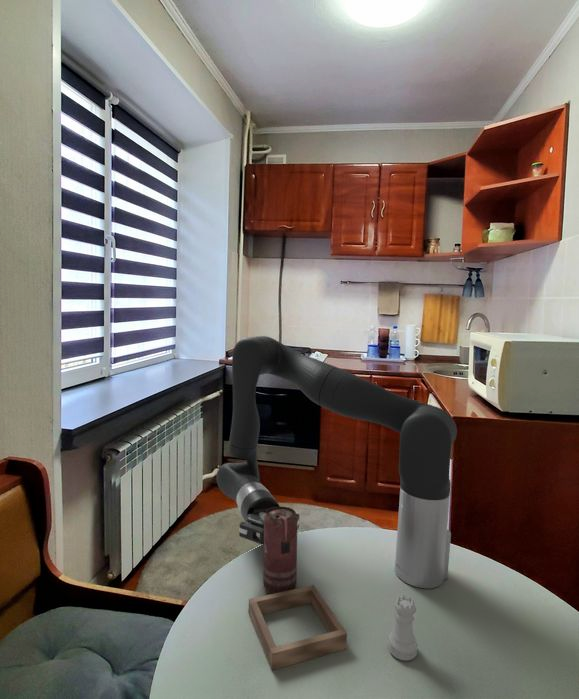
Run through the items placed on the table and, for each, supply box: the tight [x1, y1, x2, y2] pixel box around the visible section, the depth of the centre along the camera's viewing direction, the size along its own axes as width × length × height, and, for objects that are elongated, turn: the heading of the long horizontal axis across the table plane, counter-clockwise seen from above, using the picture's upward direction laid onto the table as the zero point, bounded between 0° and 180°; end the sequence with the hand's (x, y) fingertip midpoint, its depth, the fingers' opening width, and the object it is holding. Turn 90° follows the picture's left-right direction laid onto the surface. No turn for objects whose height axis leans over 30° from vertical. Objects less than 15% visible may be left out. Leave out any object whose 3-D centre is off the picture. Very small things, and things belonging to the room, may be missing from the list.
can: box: [262, 506, 298, 595], centre depth 77 cm, size 6×6×14 cm
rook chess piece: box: [386, 595, 418, 662], centre depth 64 cm, size 4×4×8 cm
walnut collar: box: [247, 584, 348, 671], centre depth 67 cm, size 12×12×2 cm
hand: (286, 548), depth 74 cm, fingers closed
